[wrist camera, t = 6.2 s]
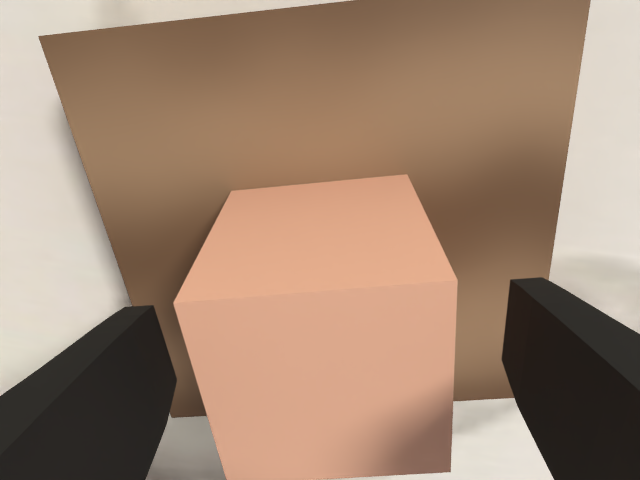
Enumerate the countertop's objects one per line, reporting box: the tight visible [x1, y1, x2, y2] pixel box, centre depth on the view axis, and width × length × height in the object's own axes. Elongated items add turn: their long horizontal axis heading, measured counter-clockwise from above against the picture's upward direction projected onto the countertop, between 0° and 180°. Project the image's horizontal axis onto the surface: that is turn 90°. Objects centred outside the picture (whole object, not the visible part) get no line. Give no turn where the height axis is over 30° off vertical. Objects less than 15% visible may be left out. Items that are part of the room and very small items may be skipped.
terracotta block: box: [173, 174, 458, 480], centre depth 10 cm, size 4×4×5 cm
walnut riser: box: [38, 0, 590, 418], centre depth 14 cm, size 12×12×4 cm
